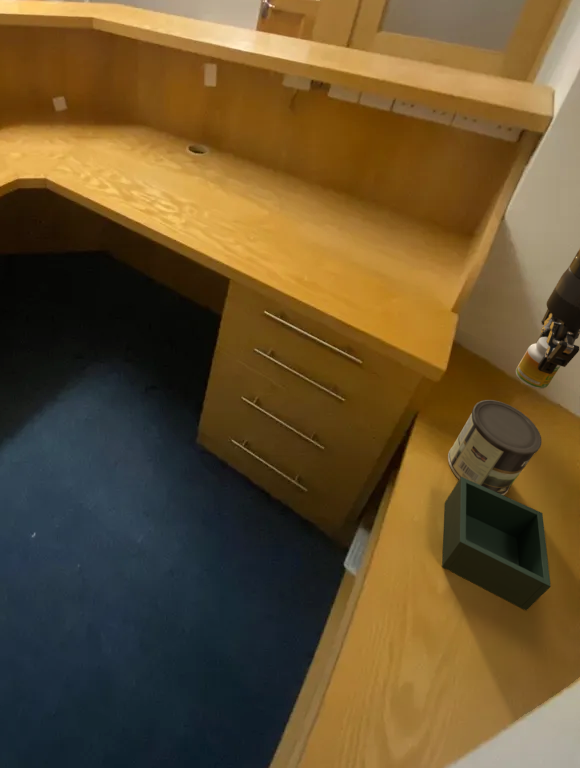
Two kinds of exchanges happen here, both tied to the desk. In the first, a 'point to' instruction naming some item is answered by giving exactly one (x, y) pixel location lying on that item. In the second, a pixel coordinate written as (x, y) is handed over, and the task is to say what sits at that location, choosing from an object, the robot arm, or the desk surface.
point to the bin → (495, 543)
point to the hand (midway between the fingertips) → (542, 359)
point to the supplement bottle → (535, 366)
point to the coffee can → (494, 446)
